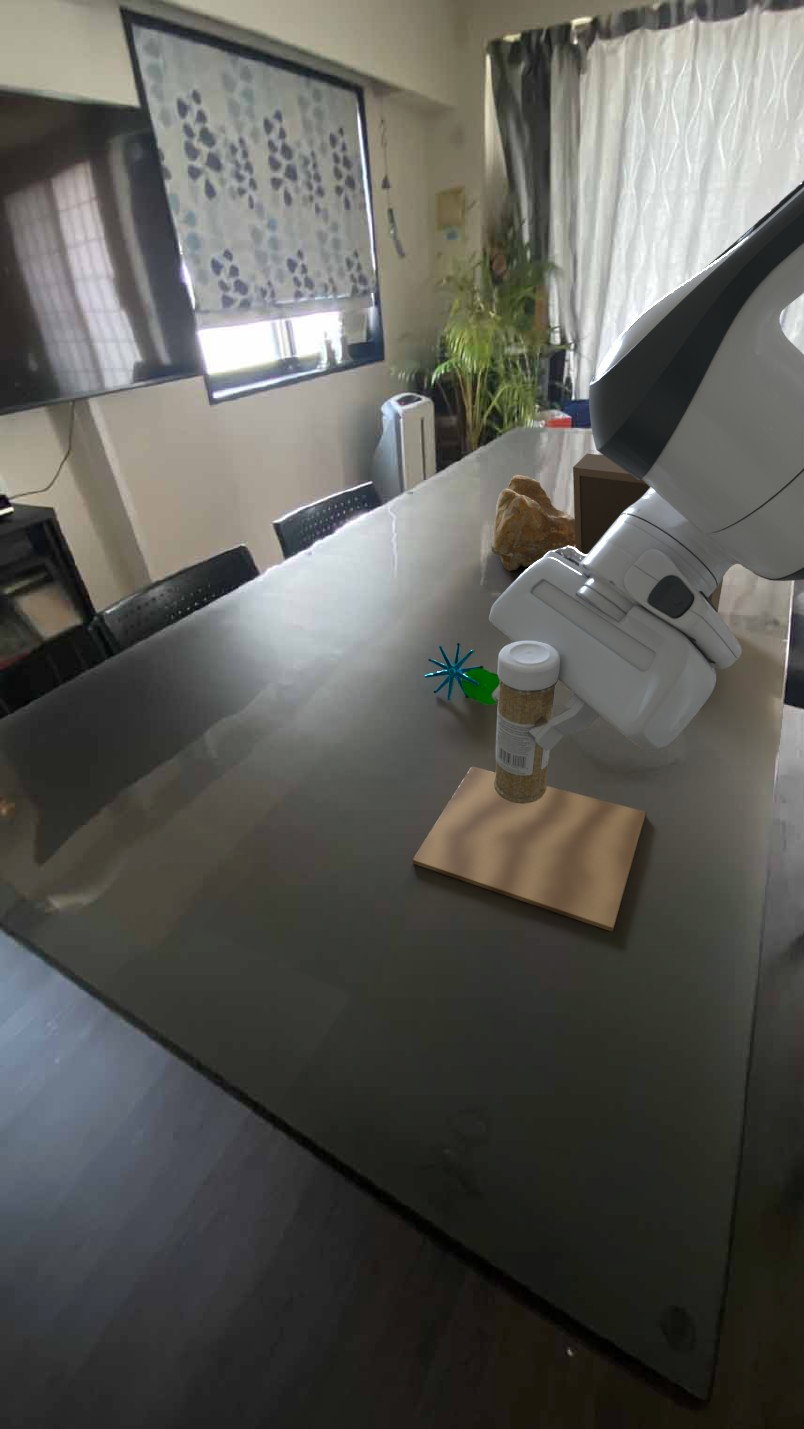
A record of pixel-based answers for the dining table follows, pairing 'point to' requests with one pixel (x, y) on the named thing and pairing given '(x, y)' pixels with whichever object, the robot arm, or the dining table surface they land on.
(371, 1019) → the dining table surface
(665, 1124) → the dining table surface
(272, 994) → the dining table surface
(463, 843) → the wooden board
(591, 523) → the photo frame
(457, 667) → the stick construction toy
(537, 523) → the rough brown rock
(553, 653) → the sprinkles bottle
